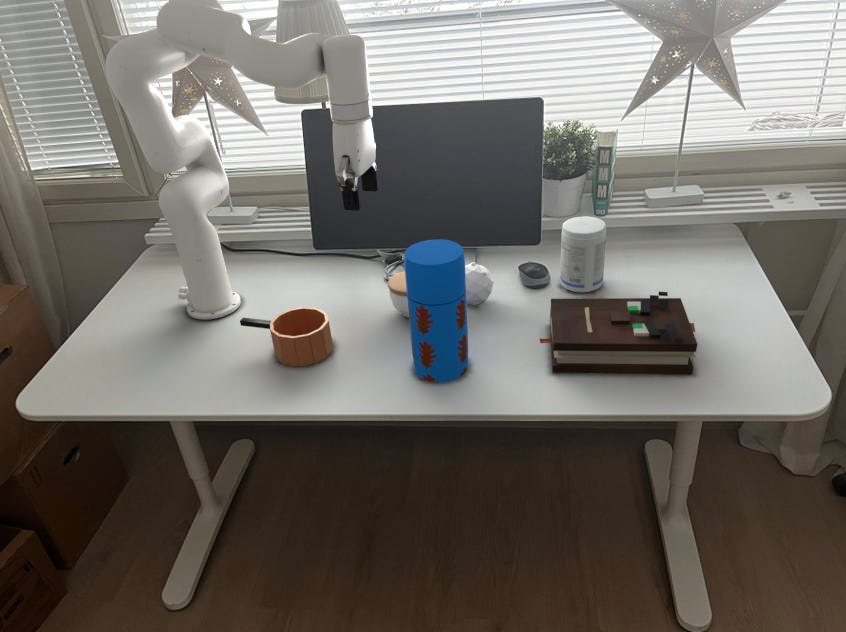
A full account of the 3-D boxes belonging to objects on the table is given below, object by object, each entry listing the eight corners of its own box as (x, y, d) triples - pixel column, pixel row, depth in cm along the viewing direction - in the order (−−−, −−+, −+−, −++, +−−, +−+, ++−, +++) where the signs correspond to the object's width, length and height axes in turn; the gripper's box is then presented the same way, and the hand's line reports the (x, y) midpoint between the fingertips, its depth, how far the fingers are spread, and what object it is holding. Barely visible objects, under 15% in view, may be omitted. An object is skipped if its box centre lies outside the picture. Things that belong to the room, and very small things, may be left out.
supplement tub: (591, 271, 168) (595, 212, 160) (610, 289, 160) (615, 228, 152) (552, 278, 167) (555, 220, 158) (569, 297, 159) (572, 236, 151)
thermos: (452, 389, 134) (445, 269, 120) (403, 375, 139) (392, 259, 125) (478, 359, 141) (474, 244, 128) (431, 347, 147) (423, 235, 133)
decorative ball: (504, 302, 164) (507, 267, 154) (470, 327, 161) (471, 293, 151) (477, 280, 168) (479, 245, 158) (444, 304, 165) (443, 270, 155)
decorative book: (539, 292, 146) (692, 291, 141) (538, 323, 151) (687, 323, 146) (540, 342, 131) (713, 343, 126) (539, 376, 135) (707, 378, 130)
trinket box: (434, 324, 154) (432, 285, 149) (386, 322, 156) (382, 285, 151) (442, 300, 163) (439, 262, 157) (396, 298, 165) (392, 262, 160)
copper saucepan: (233, 358, 149) (225, 330, 146) (260, 328, 159) (254, 301, 155) (318, 369, 143) (313, 340, 139) (341, 338, 152) (337, 310, 149)
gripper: (349, 97, 137) (359, 183, 146) (312, 123, 123) (326, 216, 133) (386, 97, 135) (394, 184, 144) (352, 124, 121) (364, 218, 131)
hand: (361, 199), depth 138 cm, fingers open, 9 cm apart
